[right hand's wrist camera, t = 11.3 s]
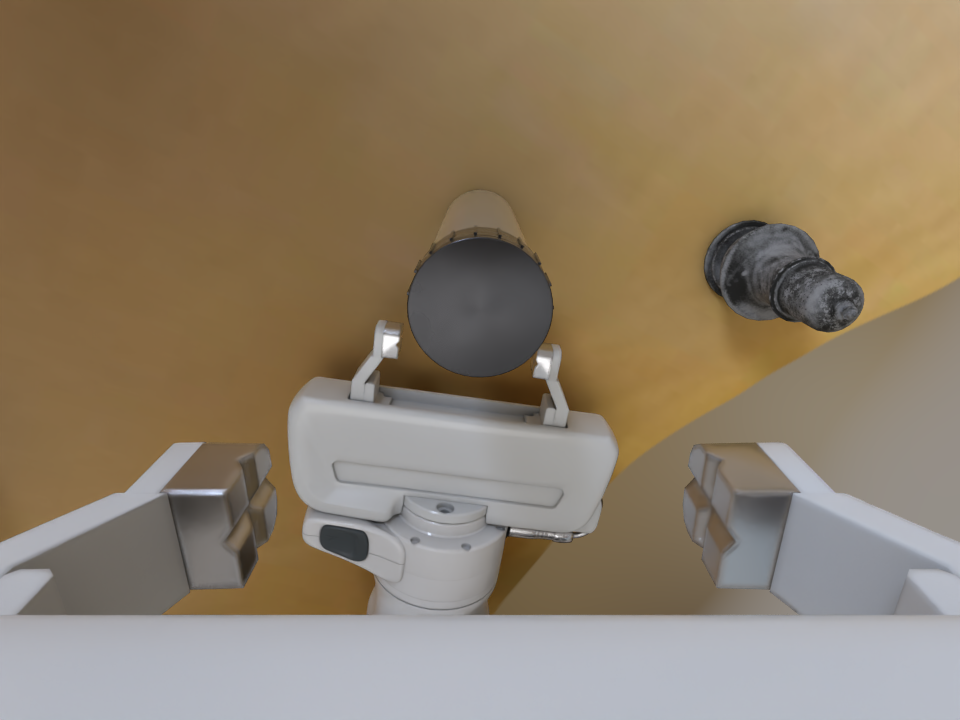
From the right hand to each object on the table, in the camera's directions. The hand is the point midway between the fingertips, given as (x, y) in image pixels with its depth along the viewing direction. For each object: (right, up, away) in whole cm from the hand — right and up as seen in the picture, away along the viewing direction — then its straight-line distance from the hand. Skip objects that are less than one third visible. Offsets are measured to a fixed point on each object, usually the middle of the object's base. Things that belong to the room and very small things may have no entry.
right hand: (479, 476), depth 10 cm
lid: (0, +4, +10) cm, 11 cm away
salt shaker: (+17, +9, +28) cm, 34 cm away
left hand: (-1, +4, +24) cm, 24 cm away
